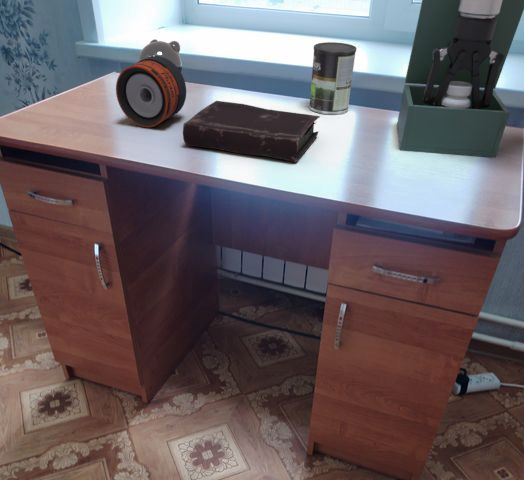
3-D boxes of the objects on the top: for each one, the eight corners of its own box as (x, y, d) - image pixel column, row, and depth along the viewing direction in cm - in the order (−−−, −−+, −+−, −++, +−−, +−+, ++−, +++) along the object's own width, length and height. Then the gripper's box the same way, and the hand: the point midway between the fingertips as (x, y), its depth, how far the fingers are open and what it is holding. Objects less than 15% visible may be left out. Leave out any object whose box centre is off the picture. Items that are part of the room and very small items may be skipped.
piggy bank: (191, 83, 146) (188, 38, 138) (171, 97, 135) (167, 48, 128) (155, 80, 148) (151, 35, 140) (133, 93, 137) (126, 45, 129)
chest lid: (528, -2, 99) (523, -17, 103) (424, -7, 101) (423, -21, 105) (495, 88, 113) (492, 72, 117) (404, 83, 115) (404, 67, 119)
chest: (495, 157, 107) (509, 112, 101) (399, 150, 109) (408, 105, 103) (482, 131, 120) (494, 90, 114) (396, 125, 122) (404, 84, 116)
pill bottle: (447, 147, 108) (462, 89, 101) (425, 138, 112) (438, 82, 105) (466, 141, 111) (481, 85, 104) (444, 133, 115) (457, 78, 107)
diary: (295, 164, 102) (297, 139, 98) (183, 147, 108) (181, 123, 104) (318, 135, 115) (321, 112, 112) (218, 121, 121) (217, 99, 118)
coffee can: (312, 115, 126) (317, 50, 117) (306, 102, 134) (310, 41, 125) (352, 114, 127) (360, 51, 118) (344, 102, 135) (351, 42, 126)
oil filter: (120, 124, 118) (110, 62, 109) (145, 110, 127) (138, 51, 118) (170, 131, 115) (164, 67, 106) (192, 116, 124) (188, 56, 115)
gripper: (525, 14, 98) (487, 136, 113) (424, 9, 100) (401, 130, 115) (534, 20, 92) (493, 148, 108) (428, 15, 94) (402, 141, 110)
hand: (446, 139), depth 111 cm, fingers closed on pill bottle, 6 cm apart
